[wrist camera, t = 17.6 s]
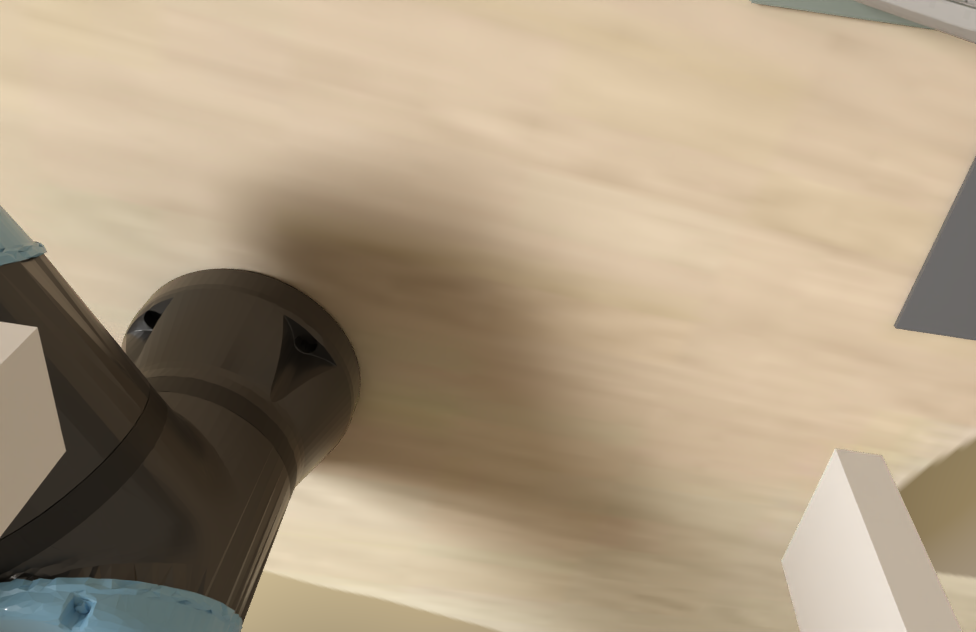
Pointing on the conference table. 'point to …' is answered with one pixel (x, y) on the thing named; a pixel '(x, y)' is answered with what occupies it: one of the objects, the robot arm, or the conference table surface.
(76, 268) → the conference table surface
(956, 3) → the digital clock
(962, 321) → the gray plate
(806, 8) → the side mat
